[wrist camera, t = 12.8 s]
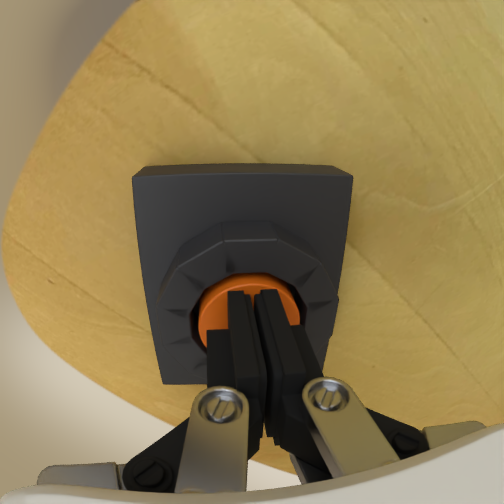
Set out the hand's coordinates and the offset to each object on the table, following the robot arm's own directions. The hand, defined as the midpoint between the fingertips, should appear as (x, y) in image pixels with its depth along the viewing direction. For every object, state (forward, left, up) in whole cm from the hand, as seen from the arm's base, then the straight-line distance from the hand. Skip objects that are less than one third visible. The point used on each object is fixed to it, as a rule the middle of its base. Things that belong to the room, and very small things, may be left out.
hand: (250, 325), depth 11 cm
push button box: (0, 0, -4) cm, 4 cm away
